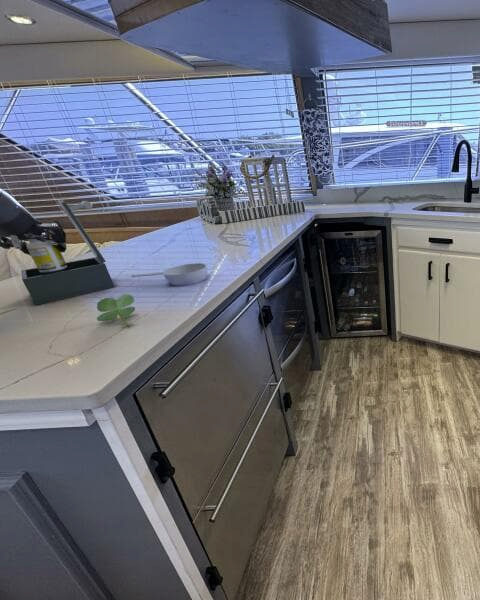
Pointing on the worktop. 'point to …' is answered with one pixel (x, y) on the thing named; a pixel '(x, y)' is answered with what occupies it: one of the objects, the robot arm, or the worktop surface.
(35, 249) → the supplement bottle
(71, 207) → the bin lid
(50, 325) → the worktop surface
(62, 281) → the bin
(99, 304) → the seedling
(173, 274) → the saucepan
